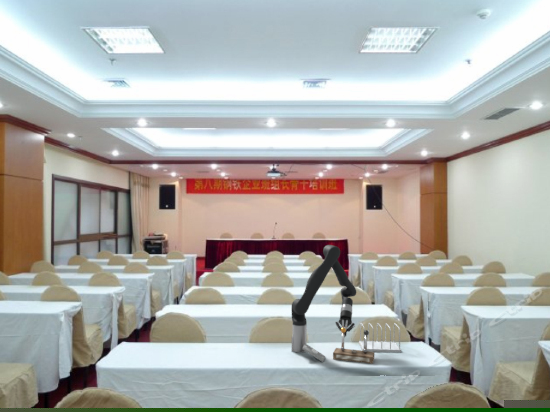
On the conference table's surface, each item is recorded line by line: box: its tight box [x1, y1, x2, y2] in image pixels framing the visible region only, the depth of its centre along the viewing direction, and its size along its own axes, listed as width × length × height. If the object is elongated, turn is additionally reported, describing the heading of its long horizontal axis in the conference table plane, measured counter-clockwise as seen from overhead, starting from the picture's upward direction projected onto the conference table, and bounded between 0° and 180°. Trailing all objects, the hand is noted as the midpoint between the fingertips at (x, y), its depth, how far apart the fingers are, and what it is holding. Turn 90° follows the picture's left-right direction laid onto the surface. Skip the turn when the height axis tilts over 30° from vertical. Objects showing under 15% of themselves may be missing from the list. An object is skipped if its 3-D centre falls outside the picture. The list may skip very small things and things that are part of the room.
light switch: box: [302, 344, 326, 363], centre depth 253 cm, size 8×6×14 cm
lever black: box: [363, 329, 370, 353], centre depth 254 cm, size 3×3×14 cm
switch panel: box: [332, 347, 375, 365], centre depth 253 cm, size 24×10×5 cm, turn 71°
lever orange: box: [340, 327, 346, 351], centre depth 258 cm, size 3×3×14 cm
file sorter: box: [358, 322, 402, 353], centre depth 276 cm, size 25×17×16 cm
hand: (343, 336), depth 260 cm, fingers closed
